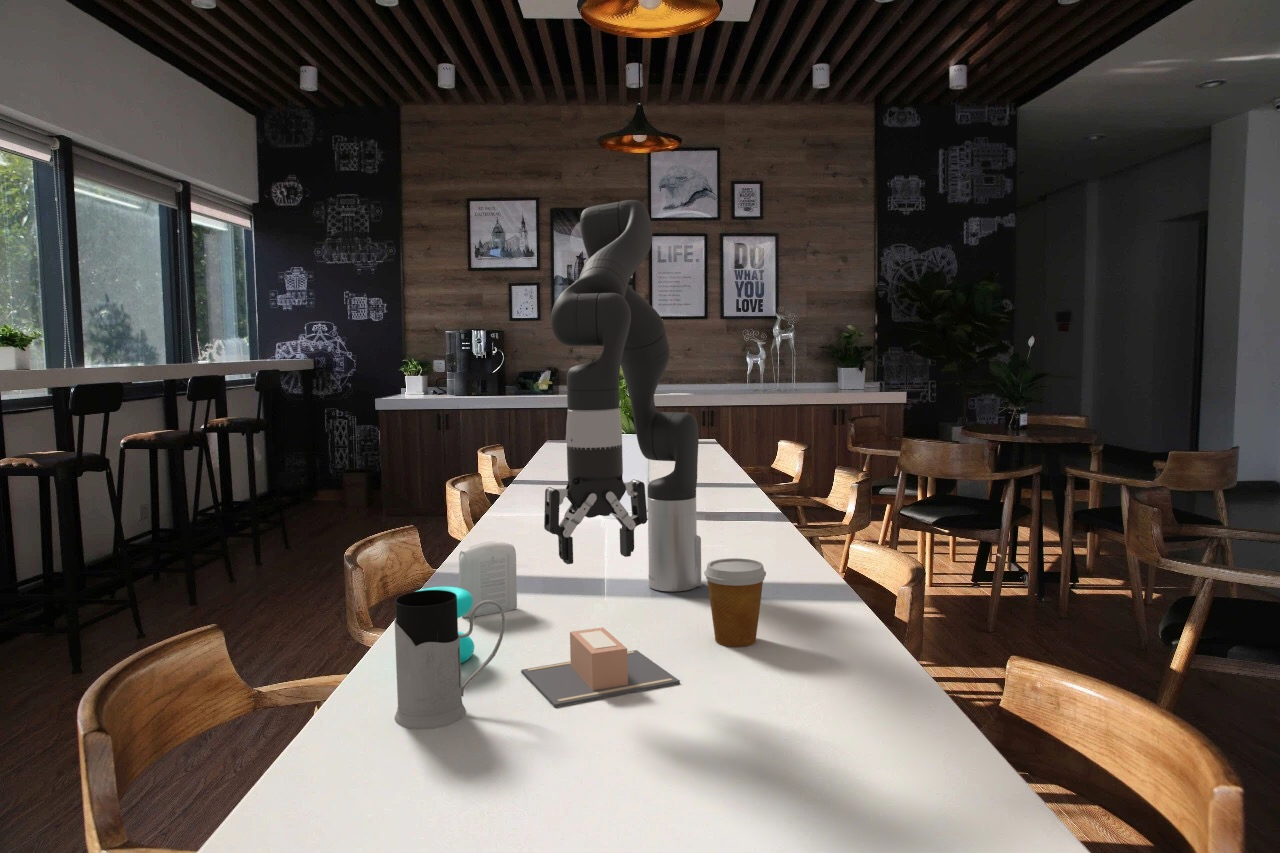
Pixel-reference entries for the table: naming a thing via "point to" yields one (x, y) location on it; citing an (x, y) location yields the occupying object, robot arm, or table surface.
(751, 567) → the disposable coffee cup
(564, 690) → the mat
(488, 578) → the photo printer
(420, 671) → the glass holder
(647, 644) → the table surface
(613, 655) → the card box
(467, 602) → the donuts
